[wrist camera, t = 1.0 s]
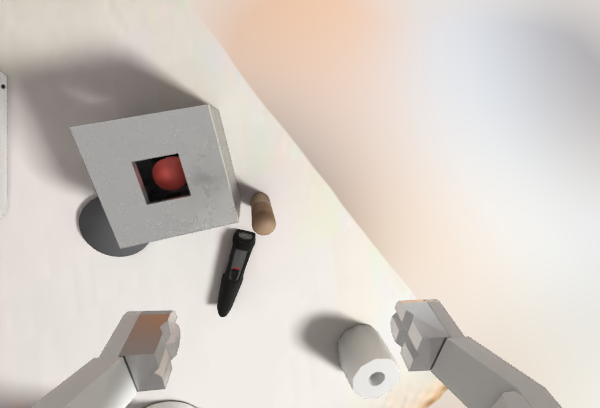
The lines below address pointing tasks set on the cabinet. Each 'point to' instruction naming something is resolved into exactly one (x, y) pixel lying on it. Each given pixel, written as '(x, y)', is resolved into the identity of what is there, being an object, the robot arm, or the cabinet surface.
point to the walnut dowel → (262, 214)
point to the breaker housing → (140, 184)
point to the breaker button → (169, 173)
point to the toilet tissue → (367, 362)
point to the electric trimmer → (235, 270)
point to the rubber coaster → (102, 231)
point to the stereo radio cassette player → (3, 146)
